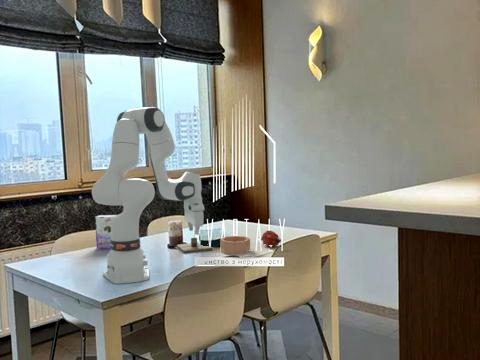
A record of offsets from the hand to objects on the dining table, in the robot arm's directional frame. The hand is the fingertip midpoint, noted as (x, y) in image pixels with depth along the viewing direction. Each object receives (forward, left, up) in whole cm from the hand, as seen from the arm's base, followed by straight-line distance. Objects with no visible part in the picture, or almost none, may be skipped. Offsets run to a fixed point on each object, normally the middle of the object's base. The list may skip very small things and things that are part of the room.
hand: (193, 232), depth 241 cm
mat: (-1, 0, -8) cm, 8 cm away
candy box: (+21, +37, -9) cm, 44 cm away
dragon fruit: (-11, -37, -9) cm, 39 cm away
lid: (-1, 0, -8) cm, 8 cm away
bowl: (-13, -17, -8) cm, 23 cm away
